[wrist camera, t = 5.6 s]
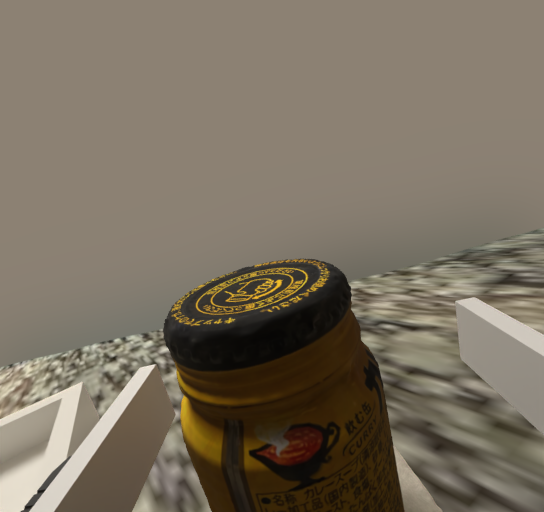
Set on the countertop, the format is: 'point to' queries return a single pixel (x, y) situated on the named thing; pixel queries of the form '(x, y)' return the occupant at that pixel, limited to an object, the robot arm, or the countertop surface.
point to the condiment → (285, 396)
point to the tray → (41, 442)
